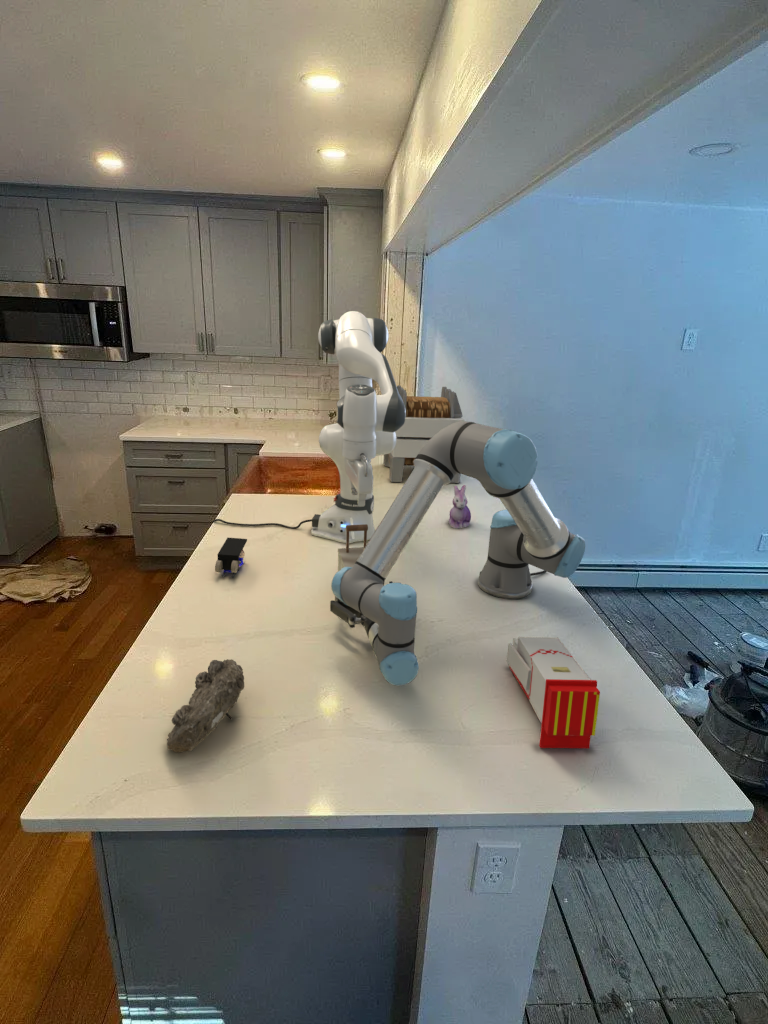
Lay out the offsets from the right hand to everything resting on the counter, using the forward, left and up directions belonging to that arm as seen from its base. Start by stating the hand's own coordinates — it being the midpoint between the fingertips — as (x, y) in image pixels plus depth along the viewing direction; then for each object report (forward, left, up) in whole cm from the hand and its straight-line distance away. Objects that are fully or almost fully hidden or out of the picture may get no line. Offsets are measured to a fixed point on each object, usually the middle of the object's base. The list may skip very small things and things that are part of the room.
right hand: (364, 587), depth 146 cm
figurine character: (+34, -30, -7) cm, 46 cm away
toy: (-29, +42, -7) cm, 51 cm away
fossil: (+36, +34, -7) cm, 51 cm away
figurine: (-48, -57, -7) cm, 75 cm away
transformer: (-53, -126, -7) cm, 137 cm away
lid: (0, -8, +3) cm, 8 cm away
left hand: (0, -14, +19) cm, 24 cm away
